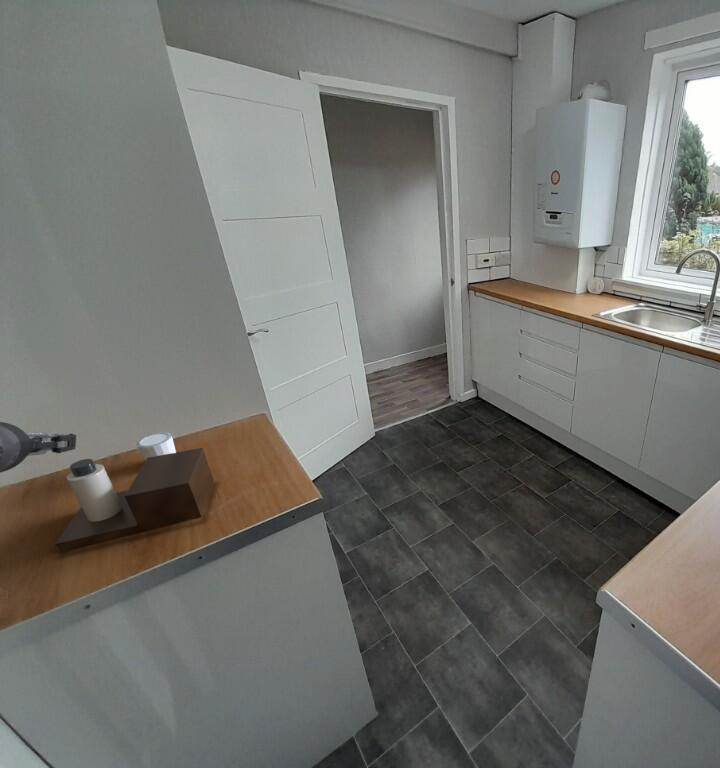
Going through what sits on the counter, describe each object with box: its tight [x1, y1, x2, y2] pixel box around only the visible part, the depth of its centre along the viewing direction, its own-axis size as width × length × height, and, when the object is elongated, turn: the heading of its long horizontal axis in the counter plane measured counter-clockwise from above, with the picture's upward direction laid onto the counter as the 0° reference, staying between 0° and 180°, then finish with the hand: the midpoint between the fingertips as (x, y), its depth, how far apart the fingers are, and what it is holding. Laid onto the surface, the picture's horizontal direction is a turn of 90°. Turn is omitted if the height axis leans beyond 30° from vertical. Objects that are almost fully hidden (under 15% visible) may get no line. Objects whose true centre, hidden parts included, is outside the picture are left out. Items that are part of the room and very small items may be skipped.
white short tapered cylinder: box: [135, 431, 177, 461], centre depth 102 cm, size 7×7×7 cm
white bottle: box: [66, 458, 122, 522], centre depth 80 cm, size 5×5×12 cm
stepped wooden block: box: [54, 447, 215, 554], centre depth 84 cm, size 22×14×10 cm, turn 115°
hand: (22, 441), depth 68 cm, fingers open, 8 cm apart
